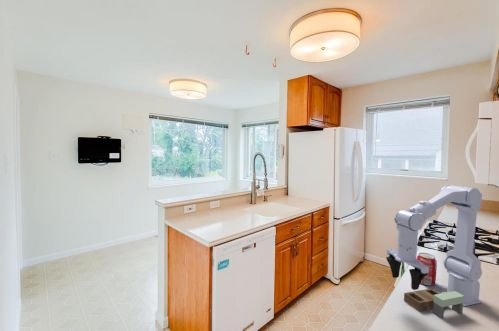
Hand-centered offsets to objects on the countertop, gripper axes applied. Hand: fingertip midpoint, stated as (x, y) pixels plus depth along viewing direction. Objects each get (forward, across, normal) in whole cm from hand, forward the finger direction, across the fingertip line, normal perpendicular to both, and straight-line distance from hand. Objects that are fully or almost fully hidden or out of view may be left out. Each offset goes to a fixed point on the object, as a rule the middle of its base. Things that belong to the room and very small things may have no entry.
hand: (404, 282), depth 83 cm
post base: (+10, -1, +11) cm, 15 cm away
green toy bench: (+10, +5, +14) cm, 18 cm away
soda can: (+10, -12, +25) cm, 30 cm away
